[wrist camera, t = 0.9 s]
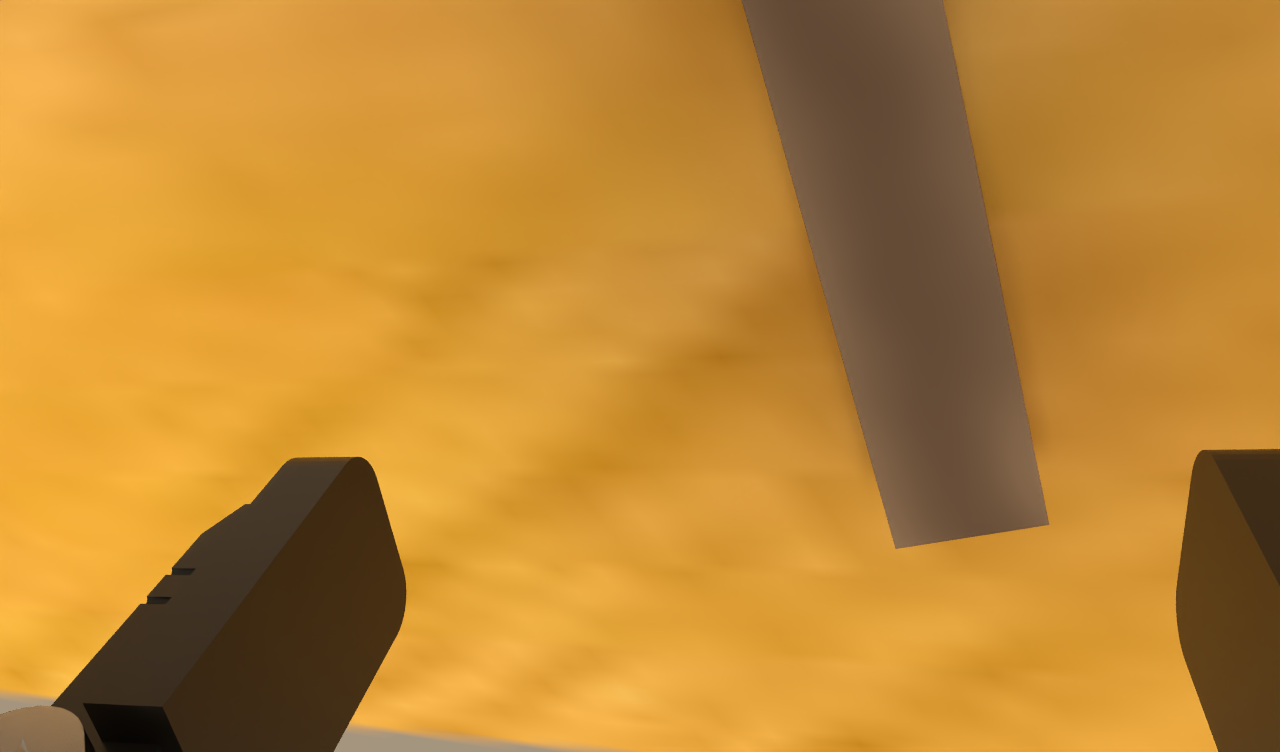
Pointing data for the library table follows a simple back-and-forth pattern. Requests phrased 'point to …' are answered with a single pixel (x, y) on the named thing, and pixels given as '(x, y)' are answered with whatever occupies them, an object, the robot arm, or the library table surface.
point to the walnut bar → (904, 258)
